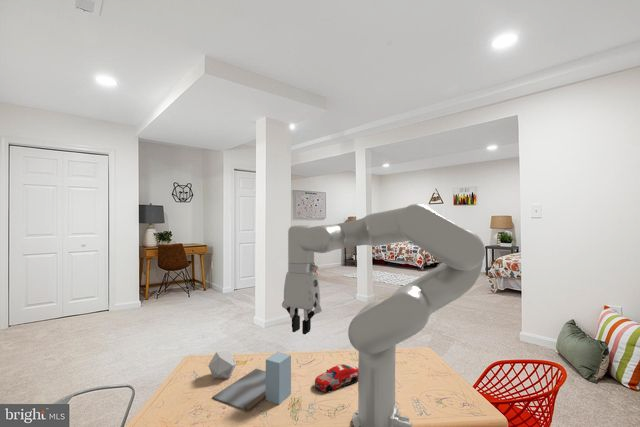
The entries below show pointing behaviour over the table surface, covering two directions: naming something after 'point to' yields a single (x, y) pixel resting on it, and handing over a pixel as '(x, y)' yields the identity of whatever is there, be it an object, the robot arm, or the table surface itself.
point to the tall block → (278, 377)
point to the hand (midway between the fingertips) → (301, 331)
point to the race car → (337, 377)
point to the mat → (245, 391)
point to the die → (222, 365)
